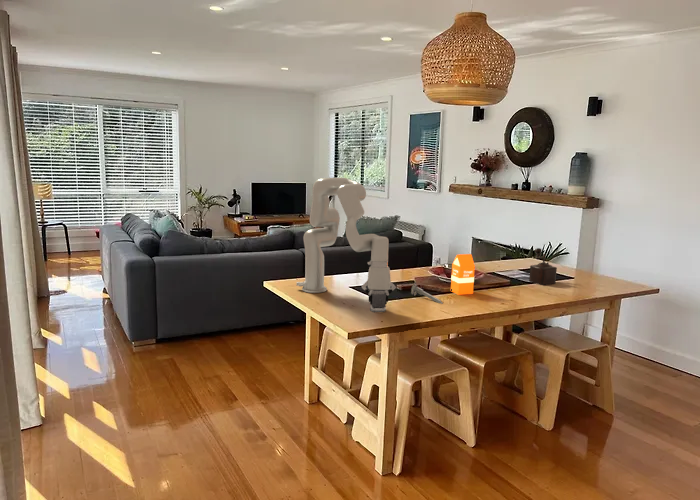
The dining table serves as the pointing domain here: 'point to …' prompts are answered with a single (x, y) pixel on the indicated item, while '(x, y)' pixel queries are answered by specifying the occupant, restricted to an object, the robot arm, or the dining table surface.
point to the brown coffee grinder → (542, 271)
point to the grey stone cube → (378, 299)
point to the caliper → (423, 293)
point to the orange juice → (463, 274)
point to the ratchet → (377, 309)
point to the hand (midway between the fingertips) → (378, 303)
